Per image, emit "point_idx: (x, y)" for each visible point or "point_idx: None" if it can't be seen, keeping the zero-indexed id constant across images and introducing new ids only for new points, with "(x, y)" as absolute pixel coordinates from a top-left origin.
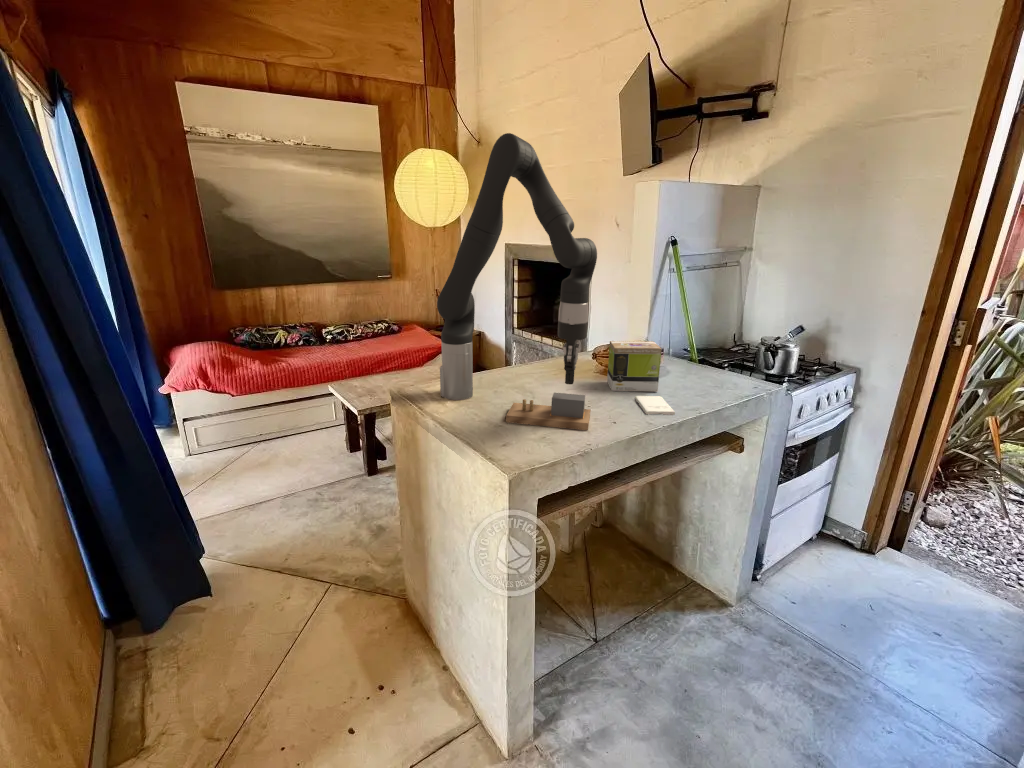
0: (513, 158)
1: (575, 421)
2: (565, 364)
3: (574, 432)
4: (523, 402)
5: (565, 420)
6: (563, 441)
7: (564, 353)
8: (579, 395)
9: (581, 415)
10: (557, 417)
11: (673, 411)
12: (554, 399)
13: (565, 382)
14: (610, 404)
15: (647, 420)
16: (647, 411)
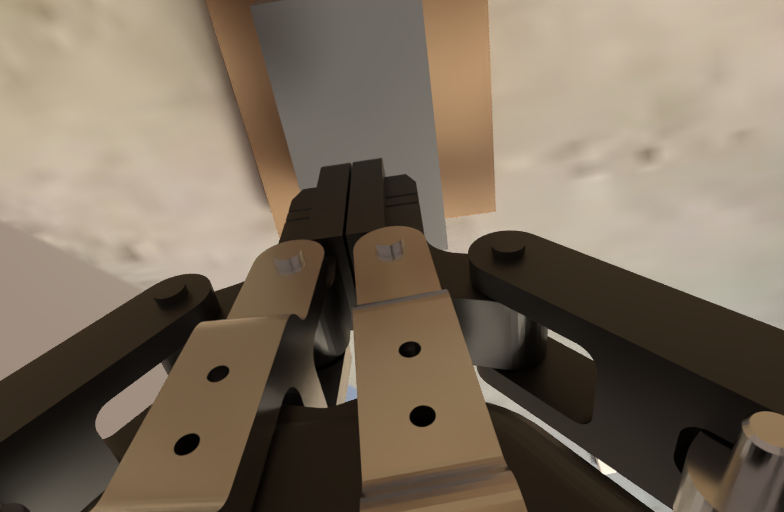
0: None
1: (269, 172)
2: (3, 399)
3: (224, 163)
4: None
5: (251, 111)
6: (75, 137)
7: (107, 497)
8: (424, 214)
9: None
10: None
11: (603, 473)
12: (259, 32)
13: (322, 171)
14: (694, 254)
15: (510, 404)
16: None
